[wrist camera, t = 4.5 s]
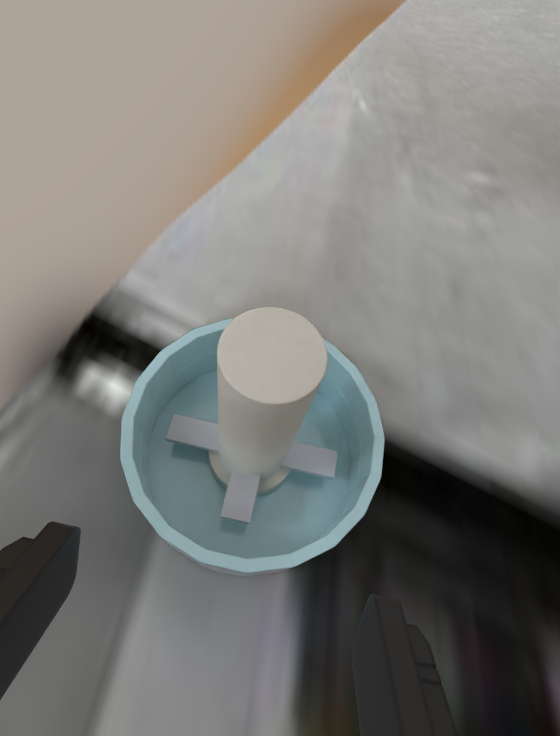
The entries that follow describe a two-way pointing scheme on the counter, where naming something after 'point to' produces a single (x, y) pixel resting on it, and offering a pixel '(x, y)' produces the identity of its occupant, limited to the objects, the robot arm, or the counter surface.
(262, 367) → the blade
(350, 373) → the processor bowl
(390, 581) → the counter surface
